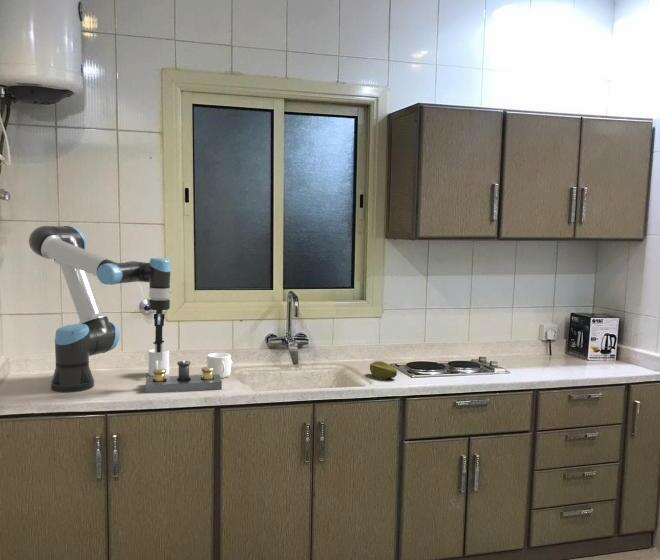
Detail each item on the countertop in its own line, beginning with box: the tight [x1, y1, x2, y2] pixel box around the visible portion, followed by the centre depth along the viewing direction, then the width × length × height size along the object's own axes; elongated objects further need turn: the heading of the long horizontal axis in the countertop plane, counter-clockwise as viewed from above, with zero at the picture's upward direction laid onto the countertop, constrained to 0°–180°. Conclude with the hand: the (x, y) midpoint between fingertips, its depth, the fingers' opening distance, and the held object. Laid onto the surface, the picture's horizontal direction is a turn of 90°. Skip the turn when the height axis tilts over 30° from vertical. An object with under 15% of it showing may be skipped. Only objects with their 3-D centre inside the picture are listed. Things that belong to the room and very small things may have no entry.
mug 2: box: [206, 352, 234, 379], centre depth 248 cm, size 12×10×9 cm
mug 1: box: [148, 348, 170, 377], centre depth 247 cm, size 12×8×10 cm
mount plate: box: [144, 374, 223, 394], centre depth 231 cm, size 28×12×3 cm, turn 105°
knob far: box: [201, 366, 214, 380], centre depth 233 cm, size 5×5×7 cm
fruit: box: [369, 360, 398, 380], centre depth 254 cm, size 11×12×7 cm
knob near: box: [153, 369, 166, 382], centre depth 228 cm, size 5×5×7 cm
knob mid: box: [177, 359, 191, 381], centre depth 231 cm, size 5×5×7 cm
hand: (158, 360), depth 228 cm, fingers closed
